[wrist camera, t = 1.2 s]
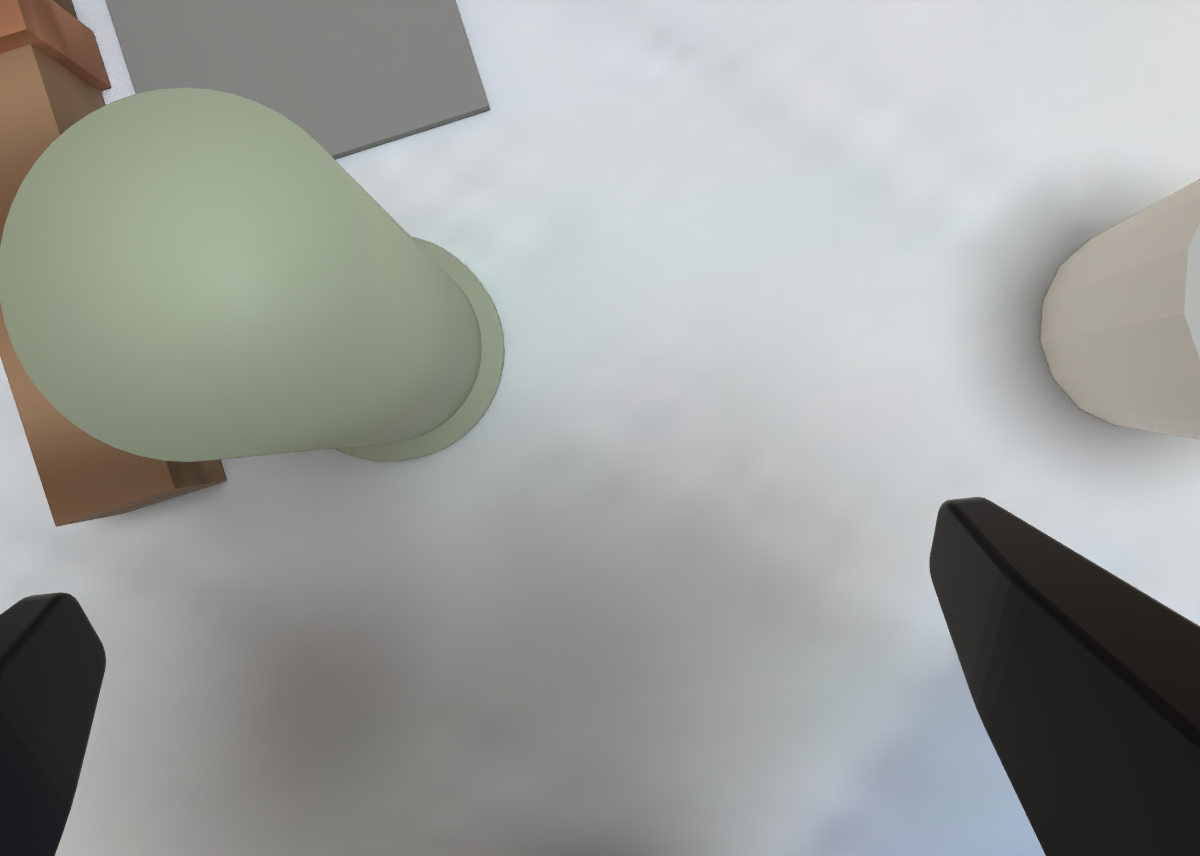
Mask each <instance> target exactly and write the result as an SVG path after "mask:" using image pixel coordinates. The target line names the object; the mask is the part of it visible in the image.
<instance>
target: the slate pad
mask: <svg viewBox="0 0 1200 856" xmlns="http://www.w3.org/2000/svg"><path fill="white" fill-rule="evenodd" d="M106 3H107V7H108V10H109V13H110V16H111V19H112V22H113V25H114V28H115V31H116V34H117V37H118V41H119V44H120V47H121V50H122V53H123V56H124V59H125V62H126V65H127V68H128V71H129V75H130V78H131V81H132V84H133V87H134V90H135V93H136V94H139V93H144V92H149V91H154V90H159V89H171V88H199V89H211V90H216V91H221V92H226V93H231V94H235V95H238V96H241V97H244V98H247V99H250V100H253V101H256V102H258V103H260V104H262V105H264V106H266V107H268V108H270V109H272V110H274V111H276V112H278V113H280V114H281V115H283V116H284V117H286V118H287V119H289V120H290V121H292V122H293V123H295V124H296V125H298V126H299V127H301V128H302V129H303V130H304V131H305V132H306V133H307V134H309V135H310V136H311V137H312V138H313V139H314V140H315V141H317V142H318V143H319V144H320V145H321V146H322V147H323V148H324V149H325V150H326V151H327V152H328V153H329V154H330V155H331V156H332V157H333V158H334V159H336V158H340V157H343V156H346V155H349V154H352V153H355V152H358V151H362V150H365V149H368V148H371V147H374V146H377V145H381V144H384V143H387V142H390V141H393V140H396V139H399V138H403V137H406V136H409V135H412V134H415V133H418V132H421V131H425V130H428V129H431V128H434V127H437V126H440V125H443V124H447V123H450V122H453V121H456V120H459V119H462V118H465V117H469V116H472V115H475V114H478V113H481V112H484V111H487V110H490V107H489V104H488V101H487V98H486V95H485V92H484V88H483V85H482V82H481V79H480V76H479V73H478V70H477V67H476V63H475V60H474V57H473V54H472V51H471V48H470V45H469V42H468V38H467V35H466V32H465V29H464V26H463V23H462V20H461V17H460V13H459V10H458V7H457V4H456V1H455V0H106Z"/></svg>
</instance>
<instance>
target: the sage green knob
mask: <svg viewBox="0 0 1200 856" xmlns="http://www.w3.org/2000/svg"><path fill="white" fill-rule="evenodd" d="M0 303H1V308H2V313H3V317H4V322H5V326H6V329H7V331H8V334H9V337H10V340H11V343H12V346H13V348H14V350H15V352H16V354H17V356H18V358H19V360H20V362H21V364H22V366H23V368H24V370H25V371H26V373H27V374H28V376H29V377H30V379H31V380H32V382H33V383H34V384H35V386H36V387H37V389H38V390H39V391H40V392H41V393H42V395H43V396H44V397H45V398H46V399H47V400H48V401H49V402H50V404H51V405H52V406H53V407H54V408H55V409H56V410H57V411H59V412H60V413H61V414H62V415H63V416H64V417H66V418H67V419H68V420H69V421H70V422H71V423H72V424H74V425H75V426H77V427H78V428H80V429H82V430H83V431H85V432H86V433H88V434H89V435H91V436H92V437H94V438H96V439H98V440H100V441H102V442H104V443H106V444H108V445H110V446H112V447H114V448H117V449H120V450H123V451H126V452H129V453H132V454H135V455H138V456H143V457H148V458H153V459H158V460H164V461H181V462H193V461H207V460H219V459H229V458H239V457H249V456H259V455H269V454H279V453H288V452H298V451H308V450H318V449H328V448H336V449H338V450H340V451H342V452H344V453H347V454H350V455H353V456H356V457H359V458H364V459H369V460H378V461H396V460H405V459H410V458H415V457H420V456H425V455H428V454H431V453H434V452H436V451H439V450H441V449H443V448H445V447H447V446H449V445H451V444H452V443H454V442H455V441H457V440H458V439H460V438H461V437H463V436H464V435H465V434H466V433H467V432H468V431H469V430H471V429H472V428H473V427H474V426H475V424H476V423H477V422H478V421H479V420H480V419H481V418H482V416H483V415H484V413H485V412H486V410H487V409H488V407H489V406H490V404H491V402H492V400H493V398H494V396H495V394H496V392H497V389H498V386H499V383H500V380H501V376H502V371H503V366H504V352H505V349H504V335H503V331H502V326H501V321H500V318H499V315H498V313H497V310H496V307H495V305H494V303H493V301H492V299H491V297H490V295H489V294H488V292H487V291H486V289H485V288H484V286H483V285H482V284H481V282H480V281H479V280H478V279H477V277H476V276H475V275H474V274H473V273H472V272H471V271H470V270H469V268H468V267H467V266H466V265H464V264H463V263H462V262H461V261H460V260H459V259H458V258H456V257H455V256H454V255H452V254H451V253H449V252H448V251H446V250H445V249H443V248H441V247H439V246H437V245H435V244H433V243H431V242H428V241H425V240H422V239H419V238H416V237H411V236H410V235H409V234H408V233H407V232H406V231H405V230H404V229H403V228H402V227H401V226H400V225H399V224H398V223H397V222H396V221H395V220H394V219H393V218H392V217H391V216H390V215H389V214H388V213H387V212H386V211H385V210H384V209H383V208H382V207H381V206H380V205H379V204H378V203H377V202H376V201H375V200H374V199H373V198H372V197H371V196H370V195H369V194H368V193H367V192H366V191H365V190H364V189H363V188H362V187H361V186H360V185H359V184H358V183H357V182H356V181H355V180H354V179H353V178H352V177H351V176H350V175H349V174H348V173H347V172H346V171H345V170H344V169H343V168H342V167H341V166H340V165H339V164H338V163H337V162H336V160H335V159H334V158H333V157H332V156H331V155H330V154H329V153H328V152H327V151H326V150H325V149H324V148H323V147H322V146H321V145H320V144H319V143H318V142H317V141H315V140H314V139H313V138H312V137H311V136H310V135H309V134H307V133H306V132H305V131H304V130H303V129H302V128H301V127H299V126H298V125H296V124H295V123H293V122H292V121H290V120H289V119H287V118H286V117H284V116H283V115H281V114H280V113H278V112H276V111H274V110H272V109H270V108H268V107H266V106H264V105H262V104H260V103H258V102H256V101H253V100H250V99H247V98H244V97H241V96H238V95H235V94H231V93H226V92H221V91H216V90H211V89H199V88H171V89H159V90H154V91H149V92H144V93H139V94H135V95H132V96H129V97H126V98H123V99H120V100H117V101H114V102H112V103H110V104H108V105H106V106H104V107H102V108H100V109H98V110H96V111H94V112H92V113H90V114H88V115H87V116H85V117H84V118H82V119H81V120H79V121H78V122H76V123H75V124H73V125H72V126H70V127H69V128H68V129H67V130H66V131H65V132H64V133H63V134H61V135H60V136H59V137H58V138H57V139H56V140H55V141H53V142H52V143H51V145H50V146H49V147H48V148H47V149H46V150H45V151H44V153H43V154H42V155H41V156H40V157H39V158H38V160H37V161H36V162H35V163H34V165H33V167H32V168H31V170H30V171H29V173H28V174H27V176H26V177H25V179H24V180H23V182H22V184H21V186H20V188H19V190H18V192H17V194H16V196H15V198H14V200H13V202H12V205H11V208H10V211H9V214H8V217H7V220H6V223H5V226H4V230H3V235H2V240H1V246H0Z"/></svg>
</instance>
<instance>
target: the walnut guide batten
mask: <svg viewBox="0 0 1200 856" xmlns="http://www.w3.org/2000/svg"><path fill="white" fill-rule="evenodd" d="M108 88H111V86H110V83H109V80H108V77H107V74H106V71H105V68H104V65H103V61H102V58H101V55H100V52H99V49H98V46H97V43H96V40H95V37H94V34H93V31H91V30H90V29H89V28H88V27H86V26H85V25H84V24H82V23H81V22H80V21H79V20H77V17H76V14H75V11H74V8H73V4H72V1H71V0H0V246H1V240H2V235H3V230H4V226H5V223H6V220H7V217H8V214H9V211H10V208H11V205H12V202H13V200H14V198H15V196H16V194H17V192H18V190H19V188H20V186H21V184H22V182H23V180H24V179H25V177H26V176H27V174H28V173H29V171H30V170H31V168H32V167H33V165H34V163H35V162H36V161H37V160H38V158H39V157H40V156H41V155H42V154H43V153H44V151H45V150H46V149H47V148H48V147H49V146H50V145H51V143H52V142H53V141H55V140H56V139H57V138H58V137H59V136H60V135H61V134H63V133H64V132H65V131H66V130H67V129H68V128H69V127H70V126H72V125H73V124H75V123H76V122H78V121H79V120H81V119H82V118H84V117H85V116H87V115H88V114H90V113H92V112H94V111H96V110H98V109H100V108H102V107H104V106H105V103H104V100H103V97H102V94H101V90H105V89H108ZM0 357H1V360H2V363H3V366H4V369H5V372H6V375H7V378H8V381H9V384H10V387H11V390H12V393H13V397H14V400H15V403H16V406H17V409H18V412H19V415H20V418H21V421H22V424H23V427H24V430H25V433H26V436H27V439H28V443H29V446H30V449H31V452H32V455H33V458H34V461H35V464H36V467H37V470H38V473H39V476H40V479H41V482H42V486H43V489H44V492H45V495H46V498H47V501H48V504H49V507H50V510H51V513H52V516H53V519H54V522H55V525H56V526H61V525H66V524H72V523H77V522H82V521H87V520H92V519H97V518H103V517H108V516H113V515H118V514H123V513H126V512H129V511H132V510H135V509H138V508H142V507H145V506H148V505H151V504H154V503H157V502H160V501H163V500H167V499H170V498H173V497H176V496H179V495H182V494H185V493H189V492H192V491H195V490H198V489H201V488H204V487H207V486H210V485H214V484H217V483H220V482H223V481H226V477H225V474H224V471H223V468H222V465H221V461H220V459H219V460H207V461H193V462H181V461H164V460H158V459H153V458H148V457H143V456H138V455H135V454H132V453H129V452H126V451H123V450H120V449H117V448H114V447H112V446H110V445H108V444H106V443H104V442H102V441H100V440H98V439H96V438H94V437H92V436H91V435H89V434H88V433H86V432H85V431H83V430H82V429H80V428H78V427H77V426H75V425H74V424H72V423H71V422H70V421H69V420H68V419H67V418H66V417H64V416H63V415H62V414H61V413H60V412H59V411H57V410H56V409H55V408H54V407H53V406H52V405H51V404H50V402H49V401H48V400H47V399H46V398H45V397H44V396H43V395H42V393H41V392H40V391H39V390H38V389H37V387H36V386H35V384H34V383H33V382H32V380H31V379H30V377H29V376H28V374H27V373H26V371H25V370H24V368H23V366H22V364H21V362H20V360H19V358H18V356H17V354H16V352H15V350H14V348H13V346H12V343H11V340H10V337H9V334H8V331H7V329H6V326H5V322H4V317H3V313H2V308H1V303H0Z"/></svg>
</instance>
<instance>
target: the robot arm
mask: <svg viewBox="0 0 1200 856" xmlns="http://www.w3.org/2000/svg"><path fill="white" fill-rule="evenodd" d="M930 574H931V579H932V582H933V585H934V588H935V591H936V594H937V597H938V600H939V603H940V606H941V609H942V611H943V614H944V617H945V620H946V623H947V626H948V629H949V632H950V635H951V638H952V640H953V643H954V646H955V649H956V652H957V655H958V658H959V661H960V664H961V667H962V670H963V672H964V675H965V678H966V681H967V684H968V687H969V690H970V692H971V695H972V698H973V700H974V703H975V706H976V709H977V711H978V713H979V715H980V718H981V720H982V722H983V724H984V727H985V729H986V731H987V733H988V735H989V737H990V739H991V742H992V744H993V746H994V748H995V750H996V752H997V754H998V756H999V758H1000V760H1001V763H1002V765H1003V767H1004V769H1005V771H1006V773H1007V775H1008V777H1009V779H1010V781H1011V783H1012V786H1013V788H1014V790H1015V792H1016V794H1017V796H1018V798H1019V800H1020V802H1021V804H1022V806H1023V809H1024V811H1025V813H1026V815H1027V817H1028V819H1029V821H1030V823H1031V825H1032V827H1033V830H1034V832H1035V834H1036V836H1037V838H1038V840H1039V842H1040V844H1041V846H1042V848H1043V850H1044V853H1045V855H1046V856H1200V626H1198V625H1197V624H1195V623H1193V622H1192V621H1190V620H1188V619H1187V618H1185V617H1183V616H1182V615H1180V614H1178V613H1177V612H1175V611H1173V610H1172V609H1170V608H1168V607H1167V606H1165V605H1163V604H1162V603H1160V602H1158V601H1157V600H1155V599H1153V598H1152V597H1150V596H1148V595H1147V594H1145V593H1143V592H1142V591H1140V590H1138V589H1137V588H1135V587H1133V586H1132V585H1130V584H1128V583H1127V582H1125V581H1123V580H1122V579H1120V578H1118V577H1117V576H1115V575H1113V574H1112V573H1110V572H1108V571H1107V570H1105V569H1103V568H1102V567H1100V566H1098V565H1097V564H1095V563H1093V562H1092V561H1090V560H1088V559H1086V558H1085V557H1083V556H1081V555H1080V554H1078V553H1076V552H1075V551H1073V550H1071V549H1070V548H1068V547H1066V546H1065V545H1063V544H1061V543H1060V542H1058V541H1056V540H1055V539H1053V538H1051V537H1050V536H1048V535H1046V534H1045V533H1043V532H1041V531H1040V530H1038V529H1036V528H1035V527H1033V526H1031V525H1030V524H1028V523H1026V522H1025V521H1023V520H1021V519H1020V518H1018V517H1016V516H1015V515H1013V514H1011V513H1010V512H1008V511H1006V510H1005V509H1003V508H1001V507H1000V506H998V505H996V504H995V503H993V502H991V501H989V500H987V499H985V498H982V497H972V498H963V499H953V500H948V501H946V502H944V503H943V504H942V505H941V507H940V509H939V512H938V516H937V521H936V527H935V532H934V537H933V543H932V548H931V553H930ZM105 666H106V656H105V651H104V647H103V645H102V642H101V641H100V639H99V637H98V635H97V634H96V632H95V630H94V628H93V627H92V625H91V623H90V622H89V620H88V618H87V616H86V615H85V613H84V611H83V609H82V608H81V606H80V604H79V602H78V601H77V600H76V598H74V597H73V596H72V595H70V594H67V593H52V594H43V595H33V596H29V597H26V598H23V599H22V600H20V601H18V602H17V603H16V604H14V605H13V606H12V607H10V608H9V609H8V610H6V611H5V612H3V613H2V614H1V615H0V856H55V853H56V850H57V848H58V845H59V842H60V839H61V836H62V834H63V831H64V828H65V825H66V822H67V819H68V816H69V813H70V809H71V806H72V803H73V799H74V795H75V792H76V788H77V785H78V780H79V776H80V772H81V768H82V764H83V760H84V755H85V751H86V747H87V743H88V739H89V735H90V730H91V726H92V722H93V718H94V714H95V710H96V705H97V701H98V697H99V693H100V689H101V685H102V680H103V676H104V672H105Z"/></svg>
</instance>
